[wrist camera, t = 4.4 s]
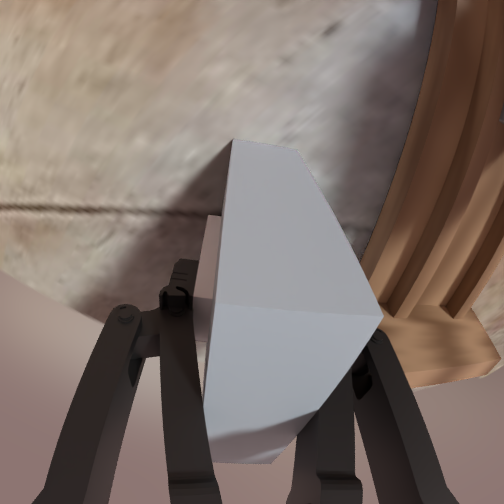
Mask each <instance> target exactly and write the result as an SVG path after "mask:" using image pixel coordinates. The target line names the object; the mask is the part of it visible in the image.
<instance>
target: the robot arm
mask: <svg viewBox="0 0 504 504" xmlns="http://www.w3.org/2000/svg"><path fill="white" fill-rule="evenodd" d="M221 217H222V216H214V215H208V219H207V224H206V229H205V234H204V239H203V245H202V250H201V255H200V261H195V260H187V259H180V260H179V261H178V262H177V263H176V264H175V265H174V268H173V273H172V276H171V279H170V283H169V285H168V286H166V287H164V288H163V289H162V290H161V291H160V294H159V302H160V307H159V308H157V309H155V310H151V311H144V312H140V310H139V309H138V308H137V307H135V306H133V305H128V304H123V305H119V306H117V307H115V308H114V309H113V310H112V311H111V313H110V315H109V317H108V319H107V321H106V323H105V325H104V327H103V329H102V332H101V334H100V336H99V338H98V340H97V343H96V345H95V347H94V349H93V352H92V354H91V356H90V359H89V361H88V363H87V366H86V368H85V370H84V373H83V375H82V378H81V380H80V383H79V385H78V388H77V390H76V393H75V395H74V398H73V400H72V403H71V405H70V408H69V411H68V414H67V417H66V419H65V422H64V425H63V428H62V430H61V433H60V437H59V439H58V442H57V446H56V448H55V452H54V455H53V458H52V461H51V465H50V468H49V472H48V475H47V479H46V483H45V486H44V489H43V490H42V491H41V492H40V494H39V495H38V496H37V498H36V499H35V500H34V501H33V503H32V504H108V502H109V497H110V492H111V488H112V483H113V479H114V474H115V469H116V466H117V461H118V457H119V453H120V449H121V445H122V441H123V437H124V433H125V429H126V426H127V422H128V418H129V414H130V411H131V407H132V403H133V400H134V396H135V393H136V390H137V386H138V383H139V379H140V376H141V372H142V369H143V366H144V363H145V360H146V358H149V357H156V356H160V377H161V400H162V416H163V431H164V443H165V453H166V463H167V471H168V484H169V485H168V486H169V494H170V502H171V504H222V500H221V495H220V491H219V486H218V483H217V480H216V478H215V475H214V470H213V464H212V459H211V453H210V447H209V441H208V435H207V428H206V422H205V415H204V408H203V401H202V394H201V387H200V378H199V370H198V362H197V353H196V344H195V341H202V342H208V333H209V324H210V316H211V307H212V299H213V289H214V279H215V269H216V260H217V251H218V242H219V234H220V225H221ZM354 412H355V415H356V419H357V423H358V426H359V430H360V433H361V436H362V440H363V443H364V447H365V451H366V455H367V458H368V462H369V465H370V469H371V473H372V477H373V481H374V485H375V489H376V493H377V497H378V501H379V504H459V503H458V501H457V500H456V499H455V497H454V496H453V494H452V493H451V492H450V490H449V489H448V488H447V486H446V483H445V480H444V477H443V473H442V470H441V467H440V464H439V461H438V458H437V455H436V453H435V450H434V447H433V444H432V441H431V438H430V436H429V433H428V430H427V428H426V425H425V422H424V420H423V417H422V415H421V412H420V409H419V407H418V404H417V402H416V399H415V397H414V395H413V392H412V390H411V387H410V385H409V383H408V380H407V378H406V376H405V373H404V371H403V369H402V366H401V364H400V362H399V360H398V357H397V355H396V353H395V351H394V349H393V346H392V344H391V342H390V340H389V338H388V336H387V335H386V333H385V332H383V331H382V330H381V329H379V328H376V330H375V331H374V333H373V335H372V336H371V338H370V339H369V341H368V342H367V344H366V345H365V347H364V348H363V350H362V351H361V353H360V354H359V356H358V357H357V359H356V360H355V361H354V363H353V364H352V366H351V367H350V369H349V370H348V371H347V373H346V374H345V375H344V377H343V378H342V380H341V381H340V382H339V384H338V385H337V386H336V388H335V389H334V390H333V392H332V393H331V394H330V396H329V397H328V398H327V399H326V401H325V402H324V403H323V405H322V406H321V407H320V408H319V410H318V411H317V412H316V413H315V414H314V416H313V417H312V418H311V419H310V421H309V422H308V423H307V424H306V425H305V427H304V428H303V429H302V430H301V431H300V432H299V434H298V435H297V441H296V451H295V462H294V471H293V480H292V487H291V491H290V493H289V495H288V498H287V501H286V504H362V497H363V495H362V494H363V489H362V483H361V481H360V480H359V479H358V478H357V477H356V476H355V432H354Z"/></svg>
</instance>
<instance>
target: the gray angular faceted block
mask: <svg viewBox="0 0 504 504" xmlns="http://www.w3.org/2000/svg"><path fill="white" fill-rule="evenodd" d="M383 317H384V315H383V313H382V311H381V309H380V306H379V304H378V302H377V300H376V297H375V295H374V293H373V291H372V289H371V287H370V284H369V282H368V280H367V278H366V276H365V274H364V272H363V270H362V268H361V266H360V263H359V261H358V259H357V257H356V255H355V253H354V251H353V249H352V247H351V245H350V243H349V241H348V239H347V238H346V236H345V234H344V232H343V230H342V228H341V226H340V224H339V222H338V220H337V218H336V217H335V215H334V213H333V211H332V209H331V207H330V205H329V204H328V202H327V200H326V198H325V196H324V195H323V193H322V191H321V189H320V187H319V186H318V184H317V182H316V180H315V179H314V177H313V175H312V174H311V172H310V170H309V168H308V167H307V165H306V163H305V162H304V160H303V158H302V157H301V155H300V153H299V152H298V150H296V149H291V148H286V147H280V146H274V145H269V144H263V143H256V142H250V141H243V140H236V139H233V142H232V148H231V155H230V161H229V168H228V174H227V181H226V188H225V195H224V201H223V209H222V217H221V225H220V234H219V242H218V251H217V260H216V269H215V279H214V289H213V299H212V307H211V316H210V324H209V333H208V342H207V345H206V357H205V369H204V381H203V394H202V401H203V408H204V415H205V422H206V428H207V435H208V441H209V447H210V453H211V459H212V462H219V463H240V464H271V463H272V462H273V461H274V460H275V459H276V458H277V457H278V456H279V455H280V453H281V452H282V451H283V450H284V449H285V448H286V447H287V446H288V445H289V444H290V443H291V442H292V440H293V439H294V438H295V437H296V436H297V435H298V434H299V432H300V431H301V430H302V429H303V428H304V427H305V425H306V424H307V423H308V422H309V421H310V419H311V418H312V417H313V416H314V414H315V413H316V412H317V411H318V410H319V408H320V407H321V406H322V405H323V403H324V402H325V401H326V399H327V398H328V397H329V396H330V394H331V393H332V392H333V390H334V389H335V388H336V386H337V385H338V384H339V382H340V381H341V380H342V378H343V377H344V375H345V374H346V373H347V371H348V370H349V369H350V367H351V366H352V364H353V363H354V361H355V360H356V359H357V357H358V356H359V354H360V353H361V351H362V350H363V348H364V347H365V345H366V344H367V342H368V341H369V339H370V338H371V336H372V335H373V333H374V331H375V330H376V328H377V327H378V325H379V323H380V322H381V320H382V319H383Z"/></svg>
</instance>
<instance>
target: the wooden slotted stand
mask: <svg viewBox="0 0 504 504" xmlns="http://www.w3.org/2000/svg"><path fill="white" fill-rule="evenodd" d="M503 255H504V0H438V6H437V13H436V19H435V25H434V30H433V36H432V41H431V46H430V51H429V56H428V60H427V65H426V69H425V73H424V78H423V82H422V86H421V90H420V93H419V97H418V101H417V105H416V108H415V112H414V115H413V119H412V122H411V126H410V129H409V132H408V136H407V139H406V142H405V145H404V148H403V151H402V154H401V158H400V161H399V163H398V166H397V169H396V172H395V175H394V178H393V181H392V184H391V186H390V189H389V192H388V195H387V197H386V200H385V203H384V205H383V208H382V210H381V213H380V216H379V218H378V221H377V223H376V226H375V228H374V231H373V233H372V235H371V238H370V240H369V243H368V245H367V247H366V250H365V252H364V254H363V257H362V259H361V261H360V266H361V268H362V270H363V272H364V274H365V276H366V278H367V280H368V282H369V284H370V287H371V289H372V291H373V293H374V295H375V297H376V300H377V302H378V304H379V306H380V309H381V311H382V313H383V315H384V317H383V319H382V320H381V322H380V323H379V325H378V327H377V328H379V329H381V330H382V331H383V332H385V333H386V335H387V336H388V338H389V340H390V342H391V344H392V346H393V349H394V351H395V353H396V355H397V357H398V360H399V362H400V364H401V366H402V369H403V371H404V373H405V376H406V378H407V380H408V383H409V385H410V387H411V388H415V387H422V386H429V385H435V384H441V383H447V382H452V381H458V380H463V379H468V378H473V377H477V376H482V375H486V374H488V372H489V371H490V370H491V369H492V368H493V367H494V366H495V365H496V364H497V363H498V362H499V361H500V360H501V357H500V355H499V354H498V352H497V350H496V348H495V346H494V345H493V343H492V341H491V339H490V338H489V336H488V334H487V333H486V331H485V329H484V328H483V326H482V324H481V323H480V321H479V319H478V318H477V316H476V315H475V313H474V311H473V310H472V308H471V306H472V305H473V303H474V302H475V300H476V299H477V297H478V296H479V294H480V293H481V291H482V290H483V288H484V287H485V285H486V284H487V282H488V280H489V279H490V277H491V275H492V274H493V272H494V270H495V269H496V267H497V265H498V264H499V262H500V260H501V258H502V257H503Z"/></svg>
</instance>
